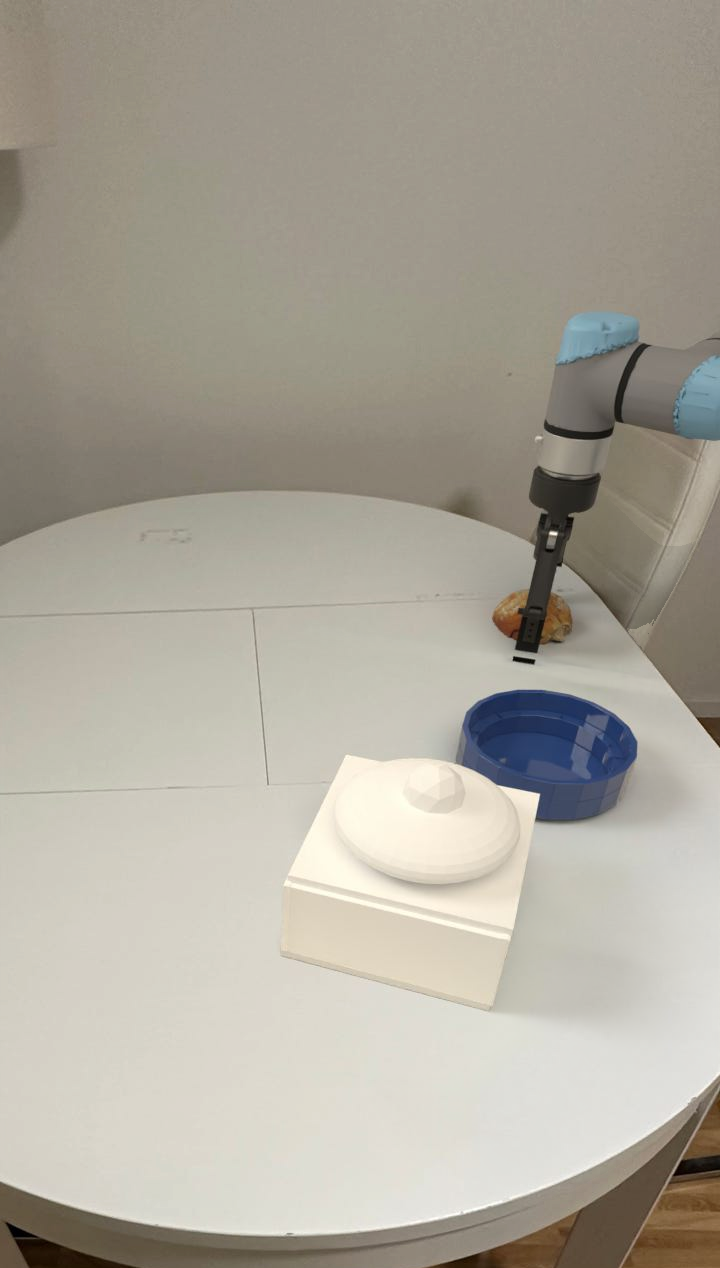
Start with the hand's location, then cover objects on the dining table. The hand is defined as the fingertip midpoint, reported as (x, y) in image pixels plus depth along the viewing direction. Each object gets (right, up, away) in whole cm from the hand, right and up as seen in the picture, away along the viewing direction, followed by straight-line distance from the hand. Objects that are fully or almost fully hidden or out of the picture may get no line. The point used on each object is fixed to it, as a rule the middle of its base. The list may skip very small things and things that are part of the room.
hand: (529, 637), depth 119 cm
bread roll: (0, 0, 0) cm, 0 cm away
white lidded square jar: (-23, -33, -38) cm, 55 cm away
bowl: (-6, -20, -22) cm, 30 cm away
